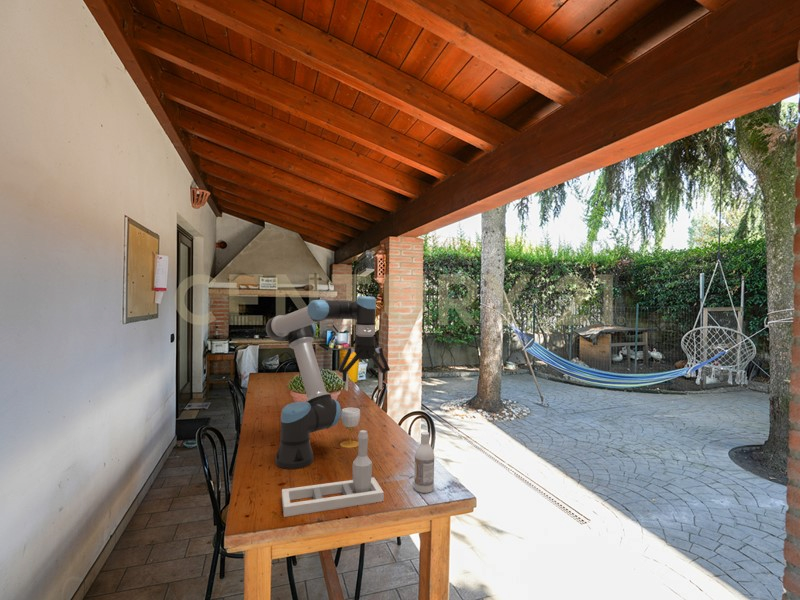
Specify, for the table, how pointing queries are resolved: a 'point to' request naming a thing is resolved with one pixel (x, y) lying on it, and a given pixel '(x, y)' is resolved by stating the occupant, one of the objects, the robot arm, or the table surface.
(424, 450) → the bath foam
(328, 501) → the white rectangular compartment rack
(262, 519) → the table surface
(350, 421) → the cup
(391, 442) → the table surface
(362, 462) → the low poly bottle
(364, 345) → the robot arm
